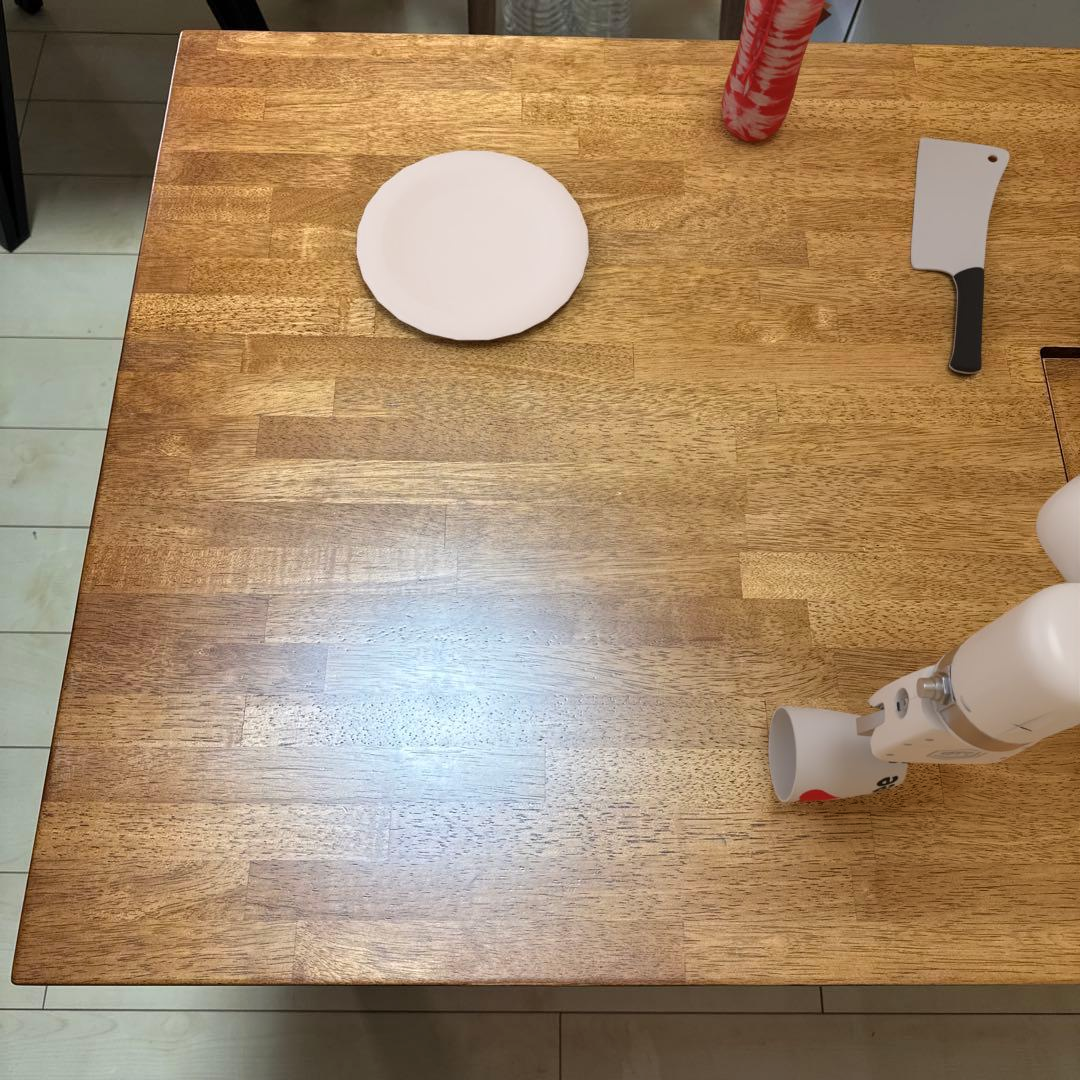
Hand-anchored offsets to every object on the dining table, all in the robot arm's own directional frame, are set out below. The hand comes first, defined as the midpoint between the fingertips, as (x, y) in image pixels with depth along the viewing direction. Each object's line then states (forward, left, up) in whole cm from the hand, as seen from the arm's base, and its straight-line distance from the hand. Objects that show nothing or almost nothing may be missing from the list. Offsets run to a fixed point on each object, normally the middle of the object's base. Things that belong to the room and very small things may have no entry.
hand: (895, 744), depth 84 cm
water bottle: (+5, -75, -8) cm, 75 cm away
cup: (-2, 0, -4) cm, 5 cm away
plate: (+37, -54, -8) cm, 66 cm away
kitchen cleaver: (-15, -56, -8) cm, 59 cm away
